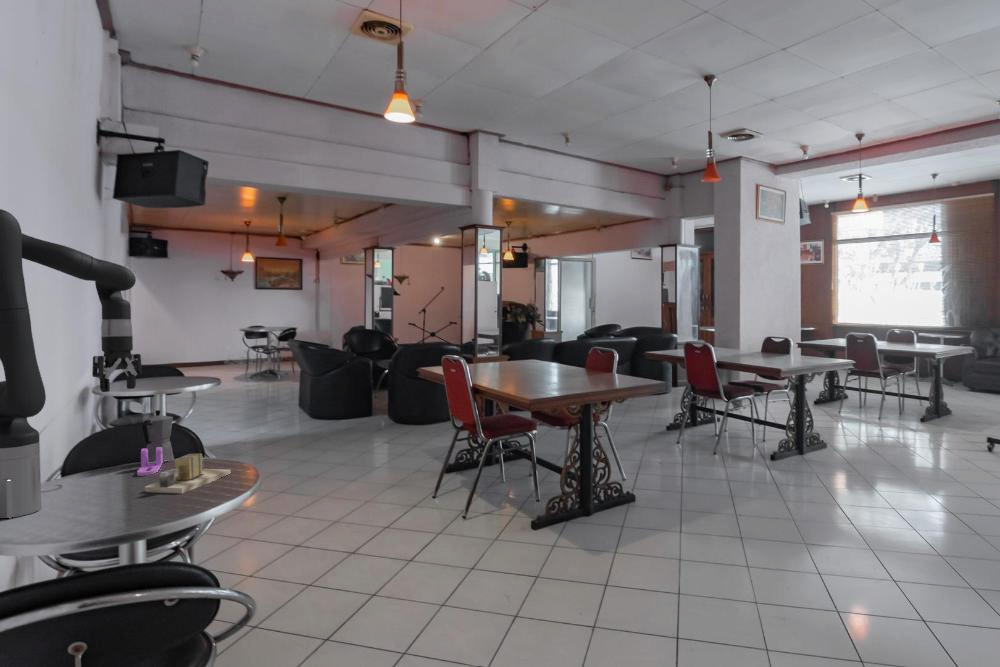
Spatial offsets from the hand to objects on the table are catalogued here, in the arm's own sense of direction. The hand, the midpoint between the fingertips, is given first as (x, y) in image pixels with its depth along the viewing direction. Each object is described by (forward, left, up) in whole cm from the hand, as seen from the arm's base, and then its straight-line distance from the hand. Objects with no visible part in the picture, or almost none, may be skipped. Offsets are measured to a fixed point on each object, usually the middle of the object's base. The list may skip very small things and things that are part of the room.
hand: (118, 390), depth 161 cm
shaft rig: (+5, -19, -28) cm, 34 cm away
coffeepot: (+27, +13, -28) cm, 41 cm away
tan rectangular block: (+5, -19, -26) cm, 33 cm away
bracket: (+16, +5, -28) cm, 33 cm away
